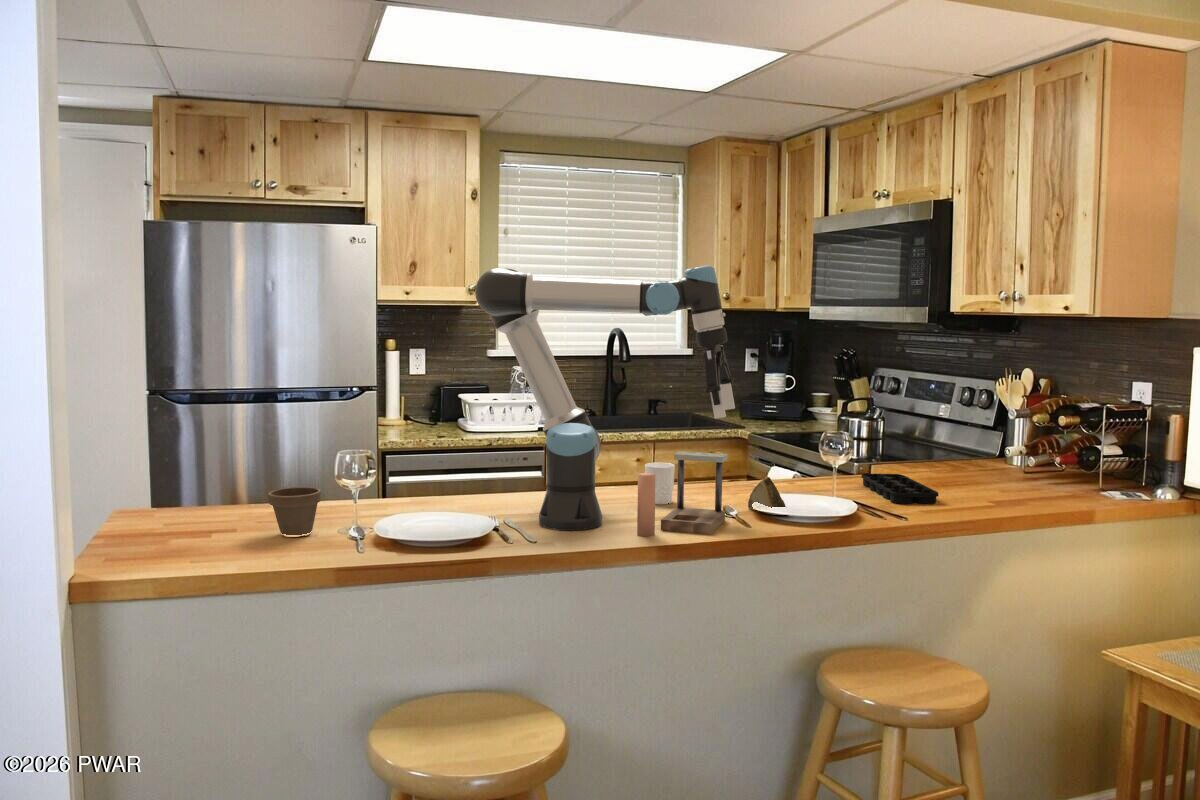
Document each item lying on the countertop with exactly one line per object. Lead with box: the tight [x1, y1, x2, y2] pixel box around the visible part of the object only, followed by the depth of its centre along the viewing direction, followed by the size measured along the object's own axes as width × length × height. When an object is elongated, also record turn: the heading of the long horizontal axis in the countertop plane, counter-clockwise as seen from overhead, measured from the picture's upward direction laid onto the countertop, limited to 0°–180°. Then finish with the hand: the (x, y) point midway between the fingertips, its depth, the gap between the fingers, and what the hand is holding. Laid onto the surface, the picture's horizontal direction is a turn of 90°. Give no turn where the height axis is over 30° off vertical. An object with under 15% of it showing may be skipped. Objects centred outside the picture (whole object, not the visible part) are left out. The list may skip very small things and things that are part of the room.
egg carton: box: [860, 473, 939, 506], centre depth 278 cm, size 18×30×4 cm, turn 16°
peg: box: [636, 472, 656, 538], centre depth 228 cm, size 4×4×14 cm
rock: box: [747, 475, 787, 513], centre depth 254 cm, size 11×9×10 cm
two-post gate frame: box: [673, 450, 728, 512], centre depth 243 cm, size 12×5×14 cm, turn 71°
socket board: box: [660, 506, 726, 535], centre depth 238 cm, size 12×15×2 cm
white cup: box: [644, 462, 676, 505], centre depth 264 cm, size 8×8×10 cm
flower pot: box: [267, 486, 322, 535], centre depth 225 cm, size 12×11×10 cm
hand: (725, 413), depth 247 cm, fingers open, 13 cm apart
